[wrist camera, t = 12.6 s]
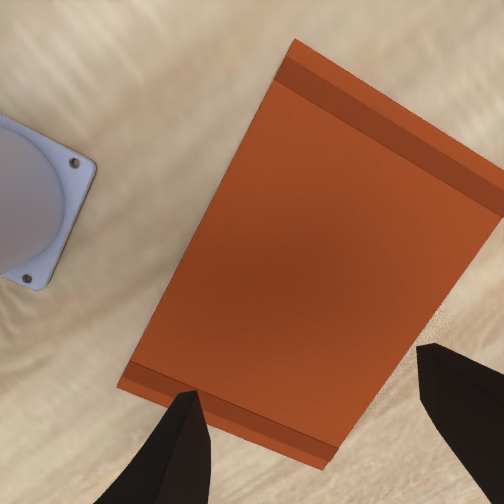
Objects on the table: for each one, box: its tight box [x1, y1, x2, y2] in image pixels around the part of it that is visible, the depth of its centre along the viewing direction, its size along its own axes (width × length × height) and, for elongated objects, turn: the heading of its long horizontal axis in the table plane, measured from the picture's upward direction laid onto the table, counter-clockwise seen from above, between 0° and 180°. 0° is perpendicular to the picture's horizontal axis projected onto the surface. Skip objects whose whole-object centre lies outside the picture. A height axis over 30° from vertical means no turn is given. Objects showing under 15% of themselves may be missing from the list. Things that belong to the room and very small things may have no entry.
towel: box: [117, 39, 504, 471], centre depth 22 cm, size 15×22×1 cm
